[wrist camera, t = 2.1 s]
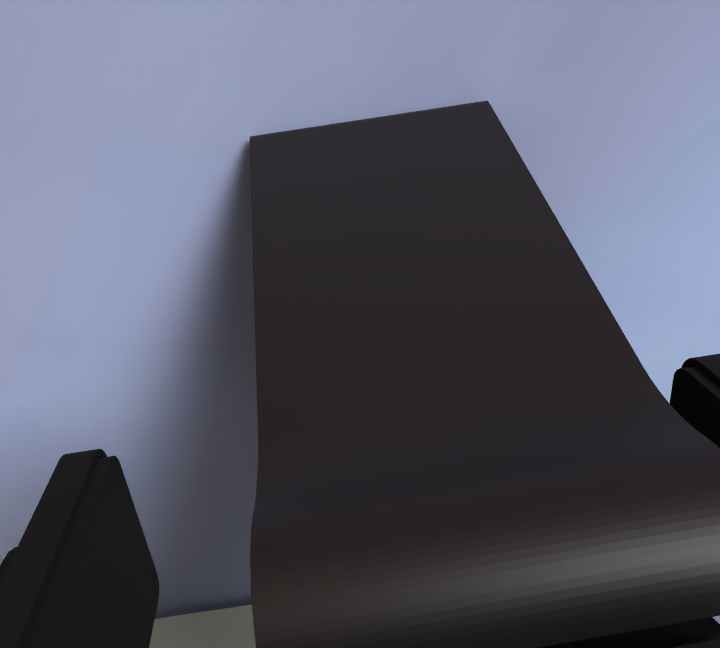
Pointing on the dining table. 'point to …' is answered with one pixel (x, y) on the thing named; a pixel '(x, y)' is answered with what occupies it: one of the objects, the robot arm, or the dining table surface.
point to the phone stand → (456, 411)
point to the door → (206, 629)
